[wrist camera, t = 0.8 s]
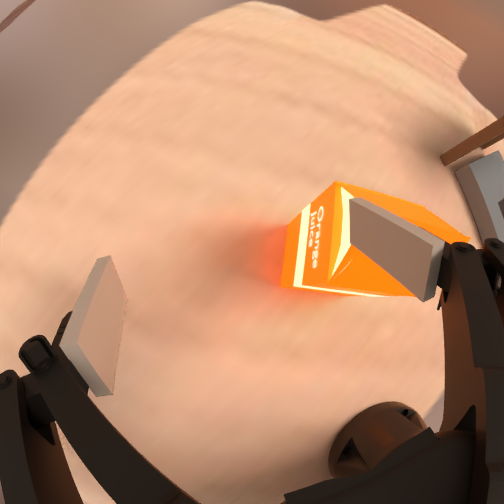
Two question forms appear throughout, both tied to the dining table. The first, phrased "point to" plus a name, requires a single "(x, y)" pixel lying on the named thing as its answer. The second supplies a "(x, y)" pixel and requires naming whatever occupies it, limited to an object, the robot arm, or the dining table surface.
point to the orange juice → (347, 245)
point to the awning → (476, 141)
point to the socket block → (485, 194)
